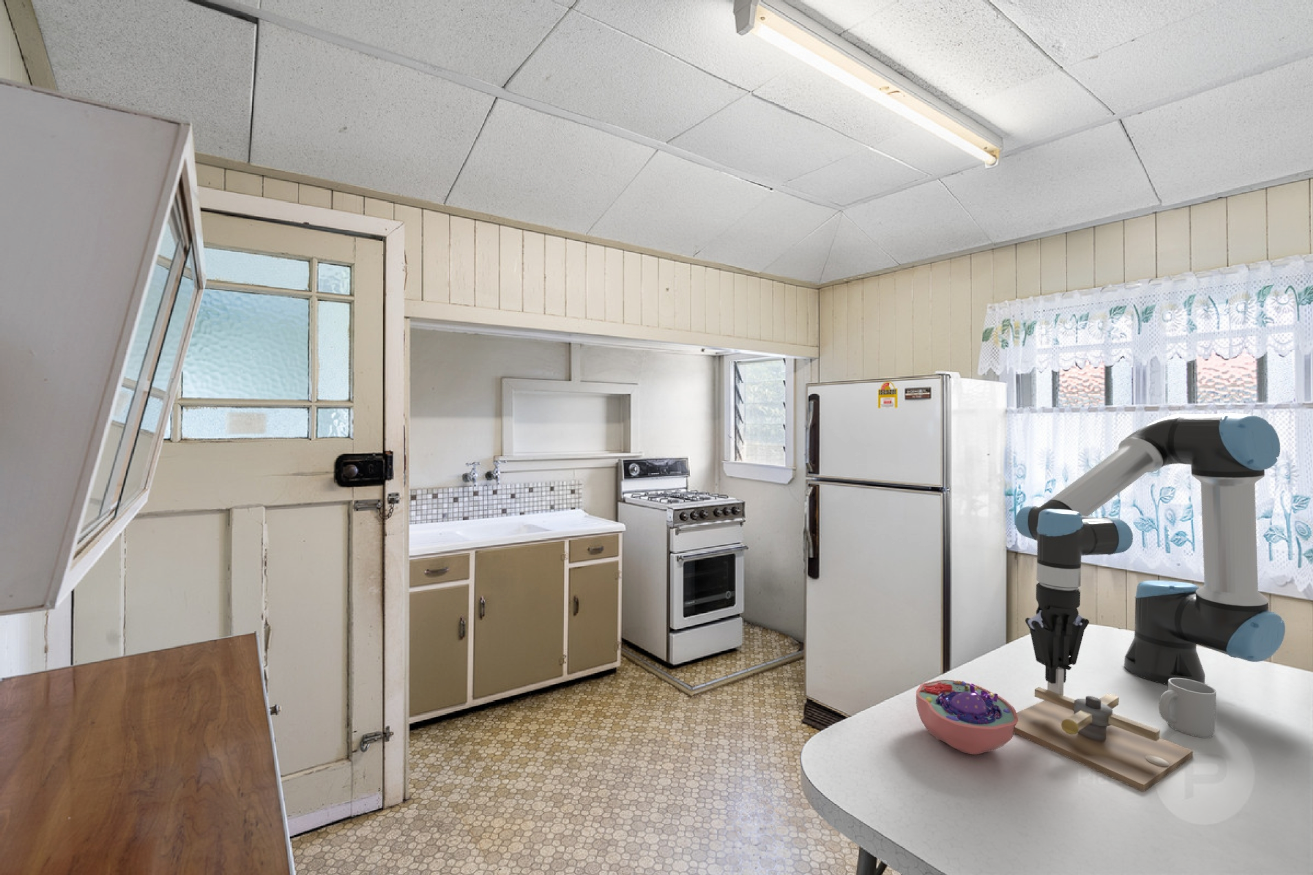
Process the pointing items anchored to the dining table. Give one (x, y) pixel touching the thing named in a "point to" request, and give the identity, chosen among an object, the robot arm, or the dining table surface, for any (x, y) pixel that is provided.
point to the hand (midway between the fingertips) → (1055, 697)
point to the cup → (1189, 707)
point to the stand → (1102, 746)
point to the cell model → (965, 715)
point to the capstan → (1095, 714)
